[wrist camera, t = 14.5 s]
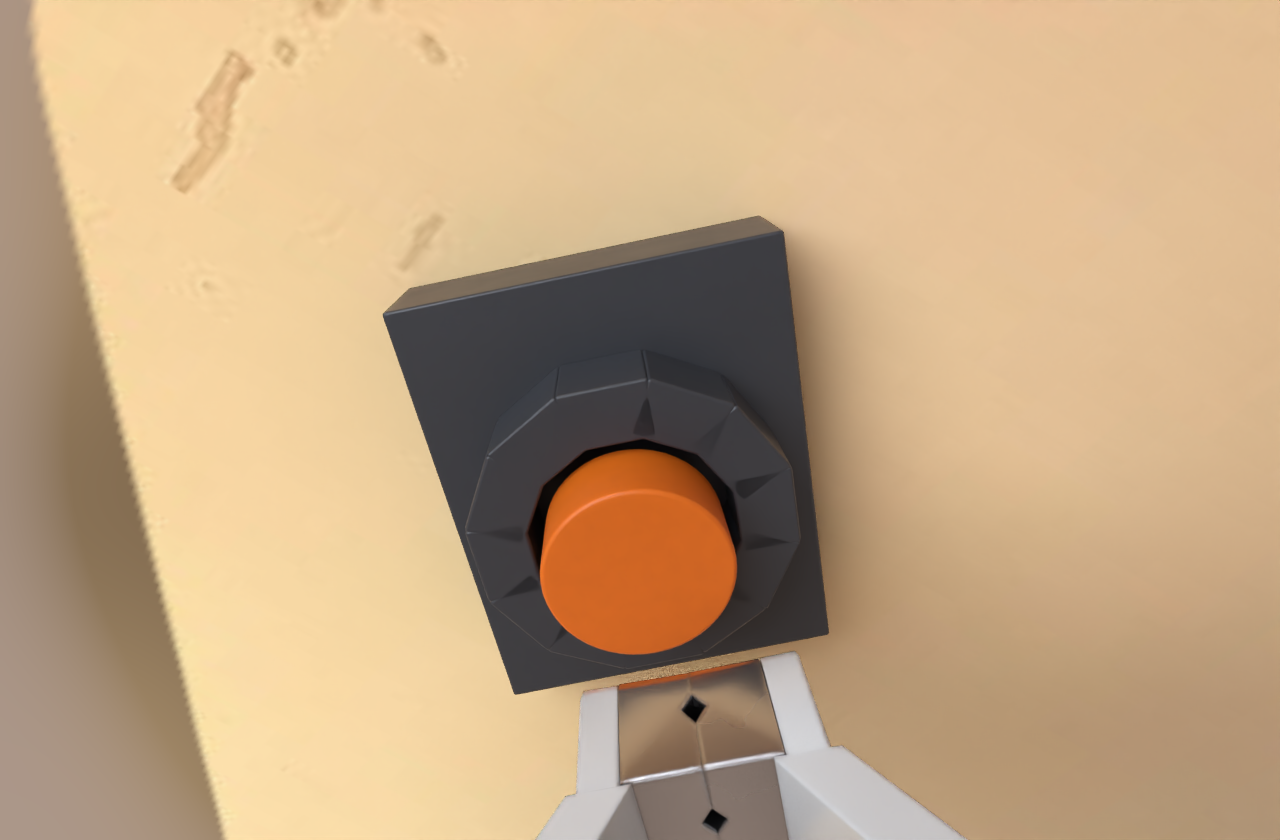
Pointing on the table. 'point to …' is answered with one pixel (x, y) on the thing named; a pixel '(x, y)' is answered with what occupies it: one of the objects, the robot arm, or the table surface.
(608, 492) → the button
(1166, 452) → the table surface
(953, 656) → the table surface
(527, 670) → the button box
